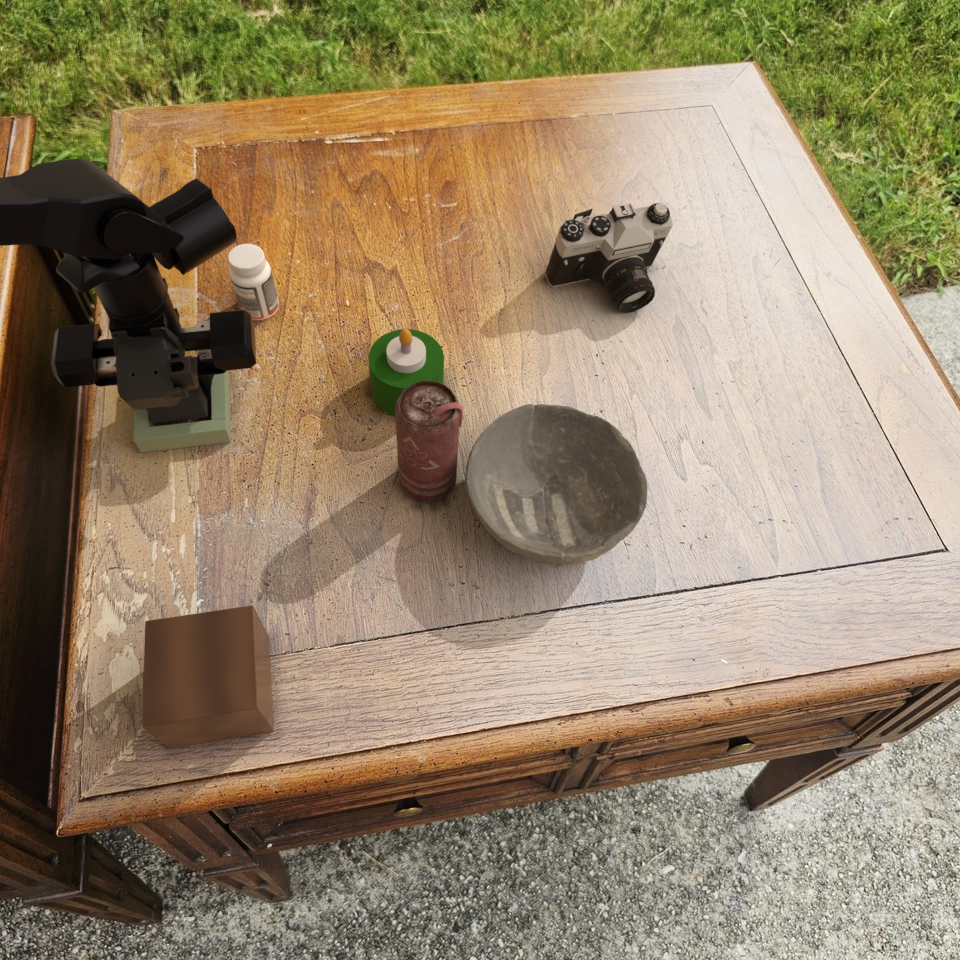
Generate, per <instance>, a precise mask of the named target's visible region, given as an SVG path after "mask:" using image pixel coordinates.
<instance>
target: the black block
mask: <svg viewBox="0 0 960 960" xmlns="http://www.w3.org/2000/svg"><path fill="white" fill-rule="evenodd" d="M192 357H193V358H194V360H195V361H196V365H197V356H192ZM146 410H147V411H148V413H149V415H150V417H151V419H152V421H153V423H155V424H159V423H168V422H176V421H187V420H194V419H195V420H196V419H205V418H208V398H206V396H205V394H204V392H203V390H202V385H201V381H200V376H198V388H197V389H193V390H190V391H189V392H188V397H184V398H181V399H180V401H179V403H178V404H176V405H174V406H170V407H154V408H146Z"/></svg>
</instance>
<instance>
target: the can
mask: <svg viewBox="0 0 960 960" xmlns="http://www.w3.org/2000/svg"><path fill="white" fill-rule="evenodd" d="M394 417H395V418H394V419H395V432H396V433H395V435H396V450H397V452H396V453H397V466H398V467H397V468H398V469H397V470H398V480H399V485H400V487H401V489H402V491H403V493H405V494H406V495H407V496H408V497H409V498H410V499H413V500H415V501H418V502H422V503H433V502H438V501H440V500H442V499H444V498H446V497H448V495H449V494H451V493H452V491H453V489H454V487H455V486H456V481H457V474H458V473H457V470H458V459H459V458H458V455H459V440H460V439H459V438H460V428H461V427H462V424H463V421H464V408H463V406H462V405H461V403H460V401H459V399H458V398H457V397H456V395H455V393H454V392H453V391H452V389H451V388H449V387H448V386H447V385H445V384H444V383H443V384H441V383H439V382H436V381H429V380H427V381H419V382H416V383H414V384H411V385H410V386H408V387H407V388H406V389H404V391H403V392H402V394H401V395H400V397H399V398H398V400H397V402H396V406H395V416H394Z"/></svg>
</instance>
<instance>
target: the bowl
mask: <svg viewBox="0 0 960 960" xmlns="http://www.w3.org/2000/svg"><path fill="white" fill-rule="evenodd" d="M464 476H465V478H464V479H465V480H464V481H465V487H466V491H467V496H468V499H469V501H470V504H471V506H472V509H473V511H474V512H475V513H474V514H475V515H476V516H477V518H478V520H479V521H480V523H481V524H482V526H483V527H484V528H485V530H486V531H487V533H489V534H490V536H491V537H492V538H493V539H494V540H495V541H496V542H497V543H499V544H500V545H501V546H503V547H504V548H505V549H507V550H509V551H510V552H513V553H516V554H518V555H519V556H522V557H524V558H526V559H528V560H532V561H535V562H538V563H541V564H545V565H550V566H555V567H559V568H560V567H569V566H570V567H571V566H577V565H581V564H584V563H587V562H589V561H594V560H595V559H598V558H600V557H601V556H604V555H605V554H607V553H608V552H610V551H611V550H612V549H614V548H615V547H616V546H618V544H619V543H620V542H622V541H623V540H624V539H626V538H627V537H628V536H629V535H630V534H631V533H632V532H633V531H634V529H635V528H636V527H637V525H638V524H639V522H640V521H641V519H642V517H643V515H644V512H645V510H646V508H647V502H648V481H647V477H646V474H645V472H644V470H643V468H642V465H641V463H640V460H639V458H638V456H637V453H636V450H635V449H634V447H633V446H632V443H631V442H630V441H629V440H628V439H627V438H626V437H624V436H623V433H622V432H621V431H620V430H619V429H618V427H616V426H614V425H613V424H612V423H611V422H610V421H608V420H606V419H605V418H602V417H601V416H597V415H594V414H588V413H586V412H585V411H581V410H579V409H577V408H574V407H572V406H569V405H559V404H557V405H556V404H545V403H540V404H539V403H538V404H533V403H529V404H524V405H521V406H518V407H516V408H513V409H511V410H509V411H507V412H505V413H504V414H502V415H500V416H499V417H497V418H496V419H495V420H494V421H493V422H492V423H491V424H489V425H488V426H487V427H485V429H484V430H483V432H481V433H480V435H479V436H478V437H477V439H476V440H475V442H474V444H473V445H472V447H471V450H470V452H469V455H468V458H467V462H466V466H465V475H464Z"/></svg>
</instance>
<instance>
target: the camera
mask: <svg viewBox="0 0 960 960" xmlns="http://www.w3.org/2000/svg"><path fill="white" fill-rule="evenodd" d="M592 212H593V208H590V209H588V210H585V211H581V212H579V213H575V214H574V216H573V218H572V219H567V220H565V221H564V222H563V224H562V225H561V226H560V227H559V229H558V232H557V235H556V238H555V242H554V244H553V248H552V251H551V254H550V257H549V260H548V263H547V266H546V268H545V274H544V276H545V278H546V281H547V283H548V285H549V287H551V288H557V287H562V286H567V285H572V284H576V283H581V282H586V281H591V280H592V281H595V282H600V283H604V284H605V286H606V288H607V290H608V292H610V295H611V297H612V298H611V299H612V302H613V303H614V305H615V308H616V309H617V310H618V311H620V312H621V313H625V314H627V313H632V312H635V311H638V310H641V309H643V308H645V307H647V306H648V304H650V303H651V302H652V301H653V300H654V298H655V296H656V289H655V286H654V285H653V281H652V280H651V279H650V277H649V274H648V269H649V268H652V265H653V263H654V261H655V259H656V258H657V256H658V254H659V252H660V250H661V248H662V247H663V246H664V243H665V241H666V239H667V237H668V235H669V234H670V232H671V229H672V228H673V227H674V226H673V219H672V217H671V212H670V209H669V207H668V205H667V204H666V203H664V202H655V203H652V204H651V205H650V206H642V207H636V208H634V206H633V203H632V202H630V203H628V204H624V205H623V204H622V205H618V206H615V205H612V208H611V209H610V211H609V213H605V214H601V215H600V214H599V215H596V216H595V215H594V216H591V215H592Z"/></svg>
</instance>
